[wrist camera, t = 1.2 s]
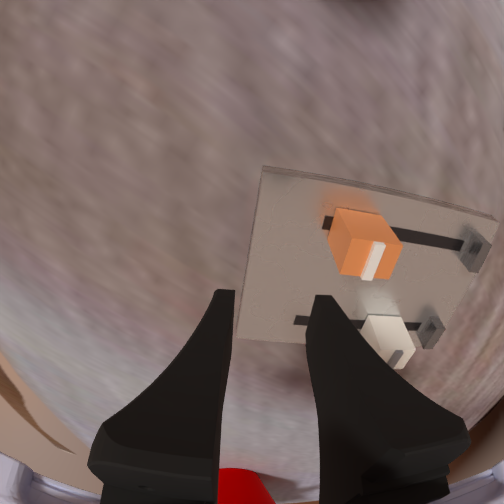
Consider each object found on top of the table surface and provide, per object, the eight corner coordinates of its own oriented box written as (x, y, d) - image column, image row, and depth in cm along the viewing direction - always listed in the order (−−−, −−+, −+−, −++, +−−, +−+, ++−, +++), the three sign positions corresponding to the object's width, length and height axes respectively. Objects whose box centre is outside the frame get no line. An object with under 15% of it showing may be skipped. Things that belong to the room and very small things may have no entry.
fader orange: (381, 215, 18) (405, 248, 15) (370, 246, 20) (390, 282, 16) (336, 207, 18) (353, 241, 15) (326, 239, 19) (340, 277, 16)
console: (491, 215, 20) (510, 232, 17) (427, 337, 27) (437, 358, 24) (262, 165, 18) (264, 181, 16) (236, 326, 25) (235, 352, 23)
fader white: (401, 316, 23) (417, 352, 20) (390, 336, 24) (403, 371, 21) (368, 315, 23) (382, 353, 20) (358, 335, 24) (369, 372, 21)
